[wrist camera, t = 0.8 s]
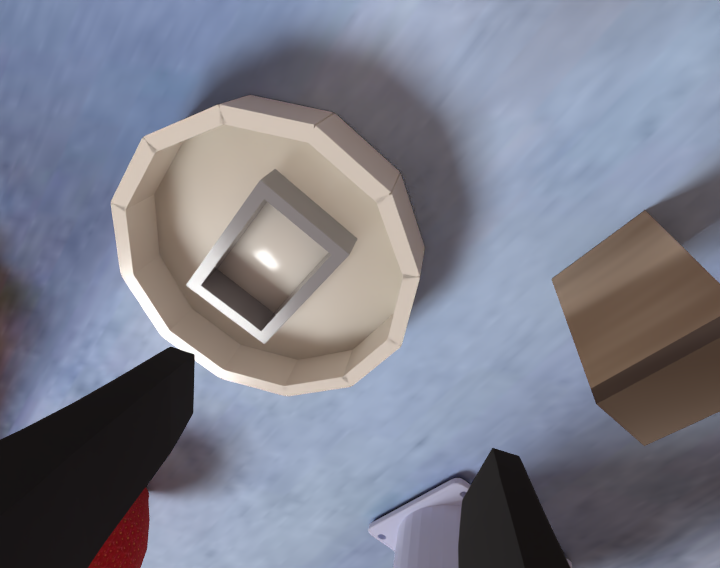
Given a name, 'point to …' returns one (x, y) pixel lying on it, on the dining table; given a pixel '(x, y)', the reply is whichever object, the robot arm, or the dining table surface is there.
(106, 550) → the strawberry
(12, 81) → the dining table surface
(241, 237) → the beige faceted bowl
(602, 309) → the tan cardboard box
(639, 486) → the dining table surface
